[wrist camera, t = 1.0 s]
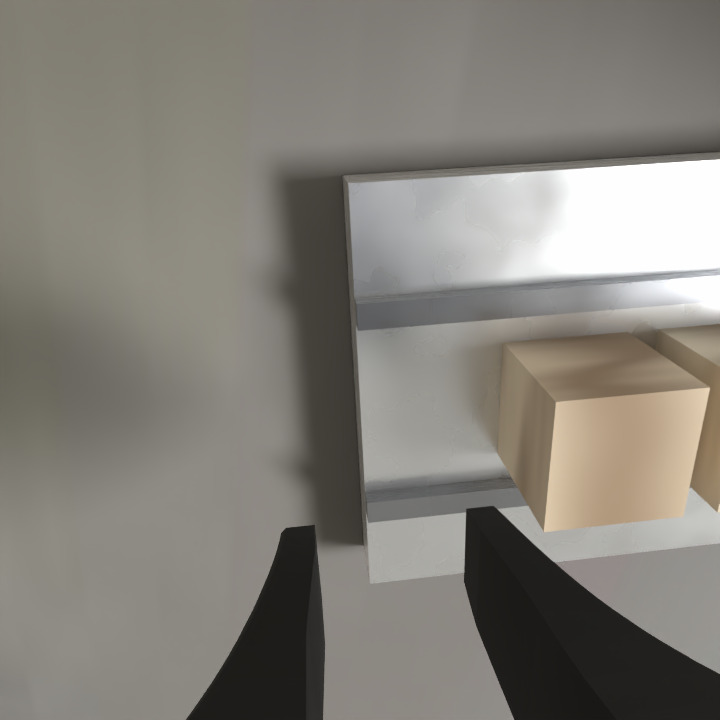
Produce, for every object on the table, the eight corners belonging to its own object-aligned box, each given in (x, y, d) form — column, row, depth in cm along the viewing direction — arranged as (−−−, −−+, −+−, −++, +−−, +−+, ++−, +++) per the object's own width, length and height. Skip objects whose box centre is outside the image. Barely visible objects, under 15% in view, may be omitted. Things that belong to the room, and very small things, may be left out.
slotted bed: (811, 145, 19) (886, 151, 17) (725, 505, 25) (772, 549, 22) (342, 175, 18) (350, 186, 15) (363, 546, 23) (371, 596, 21)
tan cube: (627, 331, 19) (710, 387, 15) (612, 441, 20) (683, 516, 17) (503, 342, 18) (556, 402, 15) (497, 453, 20) (543, 531, 16)
